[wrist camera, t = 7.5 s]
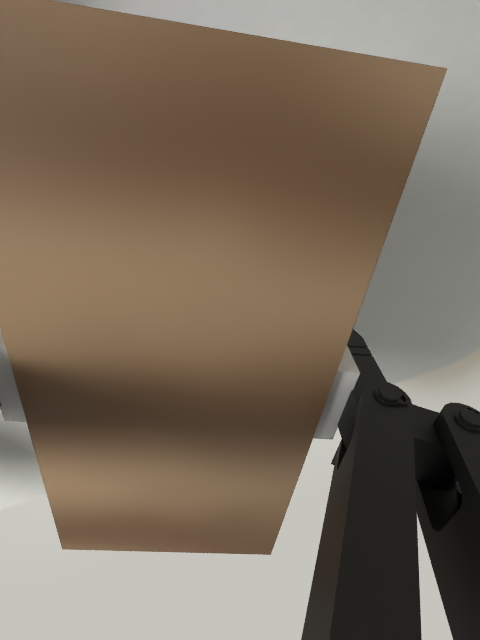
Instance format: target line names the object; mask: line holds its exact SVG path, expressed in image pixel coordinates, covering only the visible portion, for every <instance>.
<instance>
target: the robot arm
mask: <svg viewBox="0 0 480 640" xmlns="http://www.w3.org/2000/svg"><path fill="white" fill-rule="evenodd" d="M367 348H368V347H367V345H366V343H365V341H364V339H363V338H362V337H361V336H360V335H359V334H358V333H357V332H356V331H354V330H353V329H352V332H351V335H350V338H349V340H348V343H347V346H346V349H345V351H344V354H343V357H342V360H341V362H340V365H339V368H338V371H337V373H336V376H335V379H334V382H333V384H332V387H331V390H330V393H329V395H328V398H327V401H326V404H325V406H324V409H323V412H322V415H321V417H320V420H319V423H318V426H317V428H316V431H315V434H314V437H313V438H319V439H333V437H334V435H335V432H336V430H337V428H339V431H340V434H341V437H342V440H341V442H340V445H339V447H338V449H337V451H336V454H335V456H334V458H333V460H332V463H331V464H333V465H335V466H334V471H333V476H332V481H331V487H330V492H329V498H328V502H327V508H326V513H325V519H324V523H323V529H322V534H321V539H320V544H319V550H318V555H317V560H316V565H315V571H314V576H313V581H312V586H311V592H310V597H309V602H308V607H307V613H306V618H305V623H304V629H303V634H302V639H301V640H421V618H420V617H421V616H420V590H419V565H418V538H417V515H418V518H419V522H420V525H421V529H422V532H423V536H424V539H425V543H426V546H427V550H428V553H429V557H430V560H431V564H432V567H433V571H434V574H435V578H436V581H437V584H438V588H439V592H440V595H441V599H442V602H443V605H444V609H445V612H446V616H447V619H448V623H449V626H450V630H451V633H452V636H453V640H480V412H479V411H477V410H476V409H473V408H472V407H470V406H467V405H464V404H460V403H449V404H446V405H445V406H444V407H443V409H442V410H441V412H440V413H438V412H435V411H431V410H428V409H425V408H422V407H418V406H416V405H413V404H412V403H411V399H410V398H409V397H408V395H407V394H406V393H405V392H404V391H403V390H401V389H400V388H399V387H397V386H395V385H393V384H391V383H389V382H387V381H386V380H385V378H384V376H383V374H382V372H381V370H380V369H379V367H378V365H377V363H376V361H375V360H374V358H373V357H372V354H371V352H370V350H369V349H367ZM0 408H1V411H2V414H3V417H4V420H5V421H19V422H27V421H26V418H25V414H24V411H23V407H22V404H21V400H20V397H19V393H18V389H17V386H16V382H15V379H14V375H13V372H12V368H11V364H10V361H9V357H8V354H7V350H6V347H5V343H4V340H3V336H2V332H1V329H0Z"/></svg>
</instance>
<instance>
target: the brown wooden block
mask: <svg viewBox="0 0 480 640" xmlns="http://www.w3.org/2000/svg"><path fill="white" fill-rule="evenodd" d="M446 71H447V68H441V67H435V66H429V65H424V64H418V63H412V62H406V61H400V60H395V59H389V58H383V57H377V56H371V55H365V54H360V53H354V52H348V51H342V50H336V49H330V48H325V47H319V46H313V45H307V44H301V43H296V42H290V41H284V40H278V39H272V38H266V37H261V36H255V35H249V34H243V33H237V32H232V31H226V30H220V29H214V28H208V27H202V26H197V25H191V24H185V23H179V22H173V21H167V20H162V19H156V18H150V17H144V16H138V15H133V14H127V13H121V12H115V11H109V10H103V9H98V8H92V7H86V6H80V5H74V4H68V3H63V2H57V1H51V0H0V329H1V332H2V336H3V340H4V343H5V347H6V350H7V354H8V357H9V361H10V364H11V368H12V372H13V375H14V379H15V382H16V386H17V389H18V393H19V397H20V400H21V404H22V407H23V411H24V414H25V418H26V421H27V425H28V429H29V432H30V436H31V439H32V443H33V446H34V450H35V453H36V457H37V461H38V464H39V468H40V471H41V475H42V478H43V482H44V485H45V489H46V493H47V496H48V499H49V503H50V506H51V510H52V514H53V517H54V521H55V524H56V528H57V532H58V535H59V539H60V542H61V546H62V549H73V550H74V549H75V550H76V549H77V550H114V551H152V552H190V553H229V554H267V555H270V554H271V552H272V549H273V547H274V544H275V541H276V538H277V536H278V533H279V530H280V527H281V525H282V522H283V519H284V516H285V514H286V511H287V508H288V505H289V503H290V500H291V497H292V494H293V492H294V489H295V486H296V483H297V481H298V477H299V475H300V472H301V470H302V467H303V464H304V461H305V459H306V456H307V453H308V450H309V448H310V445H311V442H312V439H313V437H314V434H315V431H316V428H317V426H318V423H319V420H320V417H321V415H322V412H323V409H324V406H325V404H326V401H327V398H328V395H329V393H330V390H331V387H332V384H333V382H334V379H335V376H336V373H337V371H338V368H339V365H340V362H341V360H342V357H343V354H344V351H345V349H346V346H347V343H348V340H349V338H350V335H351V332H352V329H353V327H354V324H355V321H356V318H357V316H358V313H359V310H360V307H361V305H362V302H363V299H364V296H365V294H366V291H367V288H368V285H369V283H370V280H371V277H372V274H373V272H374V269H375V266H376V263H377V261H378V258H379V255H380V252H381V250H382V247H383V244H384V241H385V239H386V236H387V233H388V230H389V228H390V225H391V222H392V219H393V217H394V214H395V211H396V208H397V206H398V203H399V200H400V197H401V195H402V192H403V189H404V186H405V184H406V181H407V178H408V175H409V173H410V170H411V167H412V164H413V162H414V159H415V156H416V153H417V151H418V148H419V145H420V142H421V140H422V137H423V134H424V131H425V129H426V126H427V123H428V120H429V118H430V115H431V112H432V109H433V107H434V104H435V101H436V98H437V96H438V93H439V90H440V87H441V85H442V82H443V79H444V76H445V74H446Z"/></svg>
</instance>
